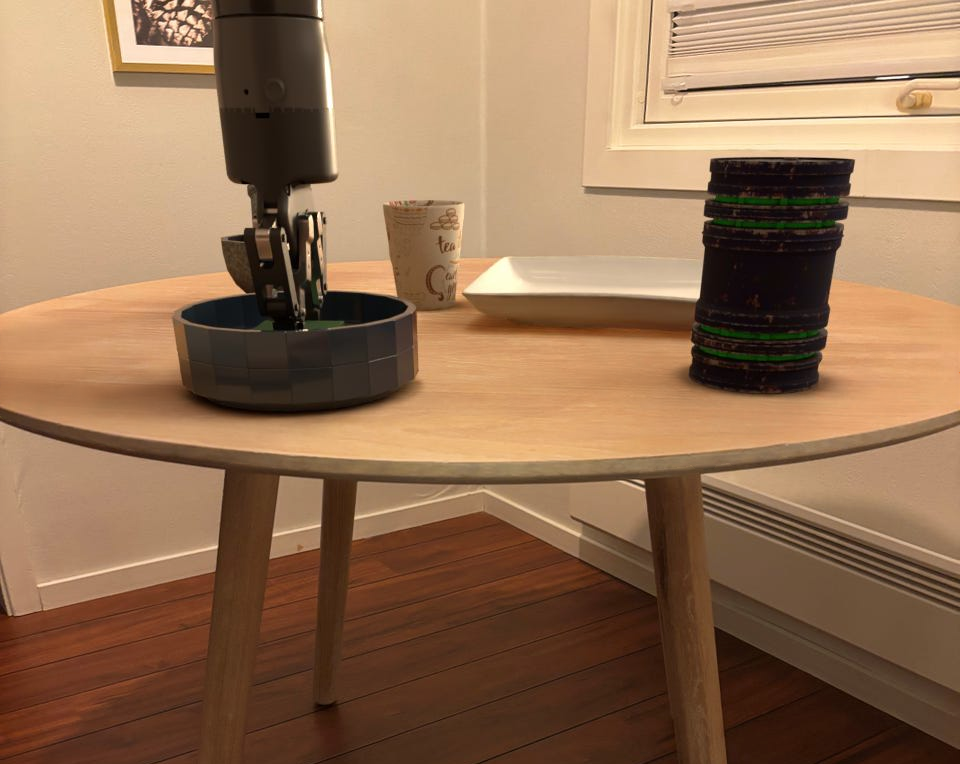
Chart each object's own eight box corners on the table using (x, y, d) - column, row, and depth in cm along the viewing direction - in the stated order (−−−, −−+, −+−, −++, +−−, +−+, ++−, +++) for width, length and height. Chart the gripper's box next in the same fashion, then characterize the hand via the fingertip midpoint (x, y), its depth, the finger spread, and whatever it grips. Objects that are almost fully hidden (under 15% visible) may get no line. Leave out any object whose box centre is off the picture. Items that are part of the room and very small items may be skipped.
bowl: (148, 414, 64) (134, 330, 61) (225, 358, 79) (216, 289, 76) (401, 418, 63) (397, 333, 60) (429, 360, 78) (427, 290, 75)
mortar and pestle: (324, 313, 98) (313, 184, 92) (231, 317, 95) (214, 186, 90) (312, 296, 107) (302, 178, 101) (228, 300, 105) (213, 180, 99)
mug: (412, 314, 96) (408, 207, 92) (356, 298, 106) (350, 200, 101) (480, 306, 100) (480, 203, 96) (420, 291, 110) (417, 196, 105)
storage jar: (803, 400, 66) (841, 162, 59) (669, 384, 71) (690, 160, 64) (831, 371, 74) (868, 157, 67) (709, 358, 78) (731, 156, 71)
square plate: (459, 331, 89) (458, 288, 87) (504, 287, 112) (504, 252, 110) (756, 340, 84) (762, 295, 82) (738, 292, 108) (742, 256, 106)
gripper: (251, 105, 69) (276, 347, 77) (183, 101, 56) (222, 390, 64) (353, 104, 68) (368, 348, 76) (307, 100, 56) (331, 392, 64)
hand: (301, 366), depth 70 cm, fingers closed on sponge, 4 cm apart
